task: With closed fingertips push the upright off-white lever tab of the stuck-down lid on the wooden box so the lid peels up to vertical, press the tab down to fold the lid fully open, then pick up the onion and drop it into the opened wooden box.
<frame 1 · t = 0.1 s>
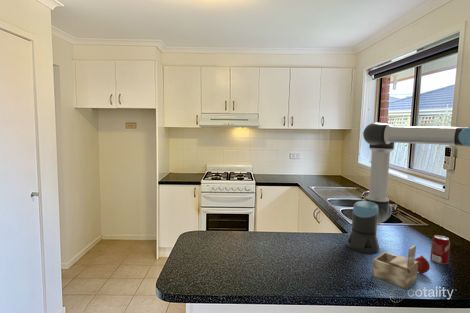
onion: (420, 273, 119), on the counter
soda can: (438, 262, 130), on the counter
lid: (404, 254, 111), point 11 cm above the counter, hinge at 0.0°
wooden box: (394, 277, 115), on the counter
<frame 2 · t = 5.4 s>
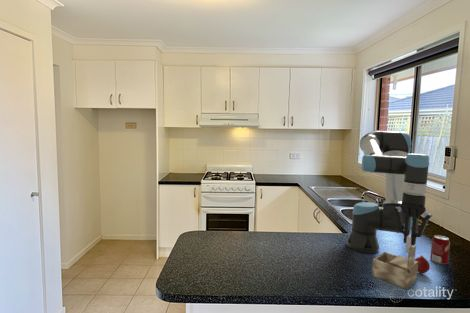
hand: (408, 251, 110), 13 cm above the counter, fingers closed
lid: (404, 254, 111), point 11 cm above the counter, hinge at 0.0°, touching gripper
everything else where it was.
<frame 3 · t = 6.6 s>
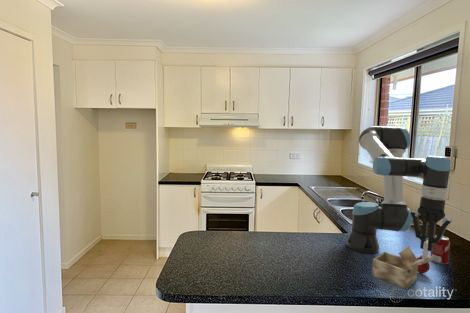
hand: (424, 257, 106), 12 cm above the counter, fingers closed
lid: (417, 255, 108), point 12 cm above the counter, hinge at 51.4°, touching gripper
everything else where it was.
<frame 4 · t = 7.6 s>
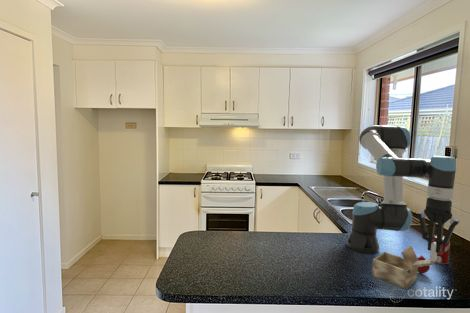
hand: (433, 259, 104), 12 cm above the counter, fingers closed
lid: (420, 256, 107), point 12 cm above the counter, hinge at 60.2°, touching gripper
everything else where it was.
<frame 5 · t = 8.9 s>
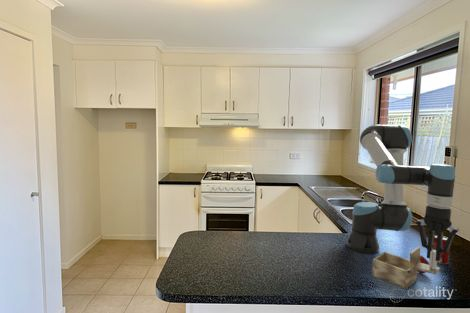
hand: (432, 267, 104), 9 cm above the counter, fingers closed
lid: (425, 261, 106), point 11 cm above the counter, hinge at 85.1°
everything else where it was.
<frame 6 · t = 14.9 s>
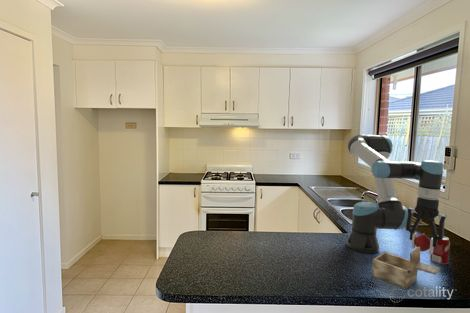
hand: (421, 250, 118), 10 cm above the counter, fingers closed on onion, 6 cm apart
onion: (421, 251, 118), point 9 cm above the counter, touching gripper
everything else where it was.
when the fingers open (8 cm above the counter, at t = 18.6 s): onion drops 6 cm, resting on wooden box.
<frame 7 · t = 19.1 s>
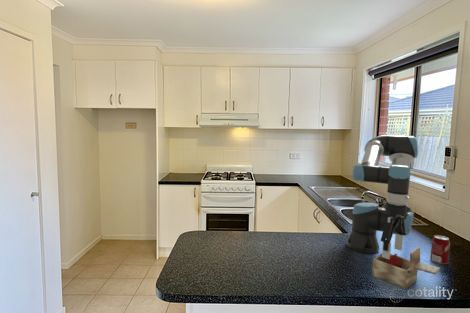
hand: (392, 253, 115), 10 cm above the counter, fingers open, 13 cm apart
onion: (391, 273, 116), point 1 cm above the counter, touching wooden box
everything else where it was.
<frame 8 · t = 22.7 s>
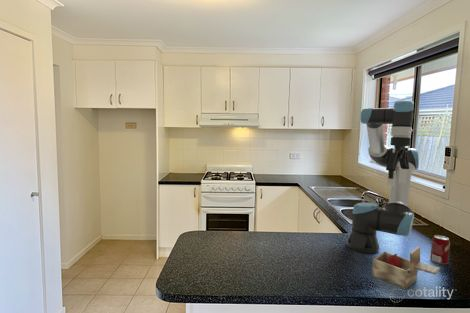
hand: (396, 184, 124), 37 cm above the counter, fingers open, 13 cm apart
nothing on the counter moved.
at the end: lid at +85° (first picture: +0°); onion inside the target area on the wooden box (1.4 cm from its centre), point 1.1 cm above the wooden box's base; the gripper is holding nothing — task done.
